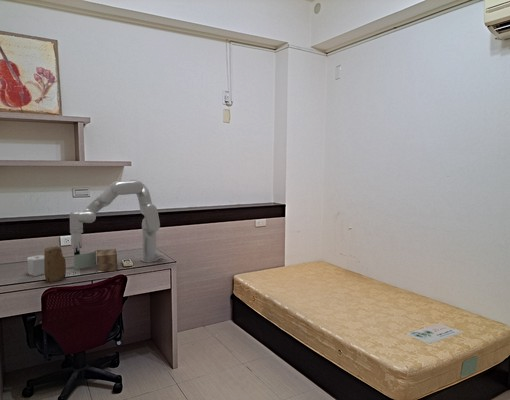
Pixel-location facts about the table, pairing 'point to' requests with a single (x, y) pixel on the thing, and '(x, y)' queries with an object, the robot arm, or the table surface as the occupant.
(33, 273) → the toilet tissue
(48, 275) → the block
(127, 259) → the table surface
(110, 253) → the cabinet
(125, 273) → the table surface
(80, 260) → the green rectangular block
